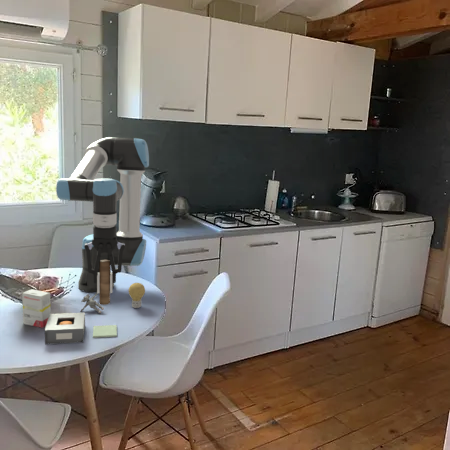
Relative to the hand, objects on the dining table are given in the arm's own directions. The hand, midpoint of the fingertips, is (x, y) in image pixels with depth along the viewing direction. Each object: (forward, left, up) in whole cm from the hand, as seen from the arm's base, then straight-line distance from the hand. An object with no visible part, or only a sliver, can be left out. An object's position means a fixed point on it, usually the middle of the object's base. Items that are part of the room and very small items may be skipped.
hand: (104, 291), depth 167 cm
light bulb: (-21, +12, -15) cm, 29 cm away
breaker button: (0, -13, -14) cm, 19 cm away
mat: (0, 0, -15) cm, 15 cm away
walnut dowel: (0, 0, -4) cm, 4 cm away
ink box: (-10, -23, -15) cm, 30 cm away
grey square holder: (0, -13, -15) cm, 20 cm away
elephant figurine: (-20, -4, -15) cm, 26 cm away
